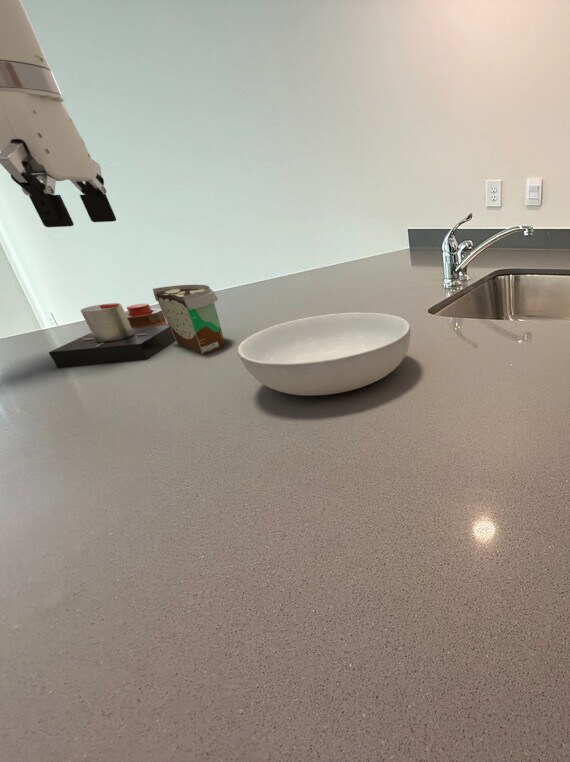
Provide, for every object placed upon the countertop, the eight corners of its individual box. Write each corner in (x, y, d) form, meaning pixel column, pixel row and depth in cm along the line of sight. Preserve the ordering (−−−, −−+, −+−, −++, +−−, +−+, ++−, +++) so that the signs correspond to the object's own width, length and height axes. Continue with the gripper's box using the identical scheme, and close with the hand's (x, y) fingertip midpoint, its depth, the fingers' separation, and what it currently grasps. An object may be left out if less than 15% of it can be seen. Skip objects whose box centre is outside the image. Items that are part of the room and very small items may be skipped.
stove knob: (88, 343, 64) (71, 310, 61) (107, 333, 68) (92, 302, 66) (123, 340, 65) (108, 307, 62) (140, 331, 69) (126, 300, 67)
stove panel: (58, 370, 62) (47, 351, 61) (101, 347, 71) (92, 330, 70) (148, 361, 65) (139, 342, 63) (179, 340, 73) (172, 324, 72)
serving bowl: (446, 375, 57) (441, 328, 54) (291, 438, 43) (273, 380, 40) (369, 342, 70) (362, 303, 67) (232, 383, 56) (215, 336, 53)
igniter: (105, 342, 73) (95, 321, 72) (131, 329, 80) (122, 309, 79) (168, 337, 75) (159, 316, 74) (188, 324, 82) (181, 305, 81)
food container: (247, 346, 70) (228, 288, 65) (208, 358, 65) (184, 296, 61) (213, 335, 76) (193, 281, 71) (174, 345, 71) (150, 288, 67)
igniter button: (126, 317, 75) (122, 308, 74) (136, 313, 77) (132, 304, 77) (146, 316, 75) (142, 307, 74) (156, 311, 78) (152, 302, 77)
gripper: (36, 97, 60) (92, 221, 68) (-86, 67, 45) (4, 230, 53) (95, 98, 62) (144, 219, 69) (-3, 68, 47) (72, 227, 54)
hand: (83, 223), depth 61 cm, fingers open, 9 cm apart
